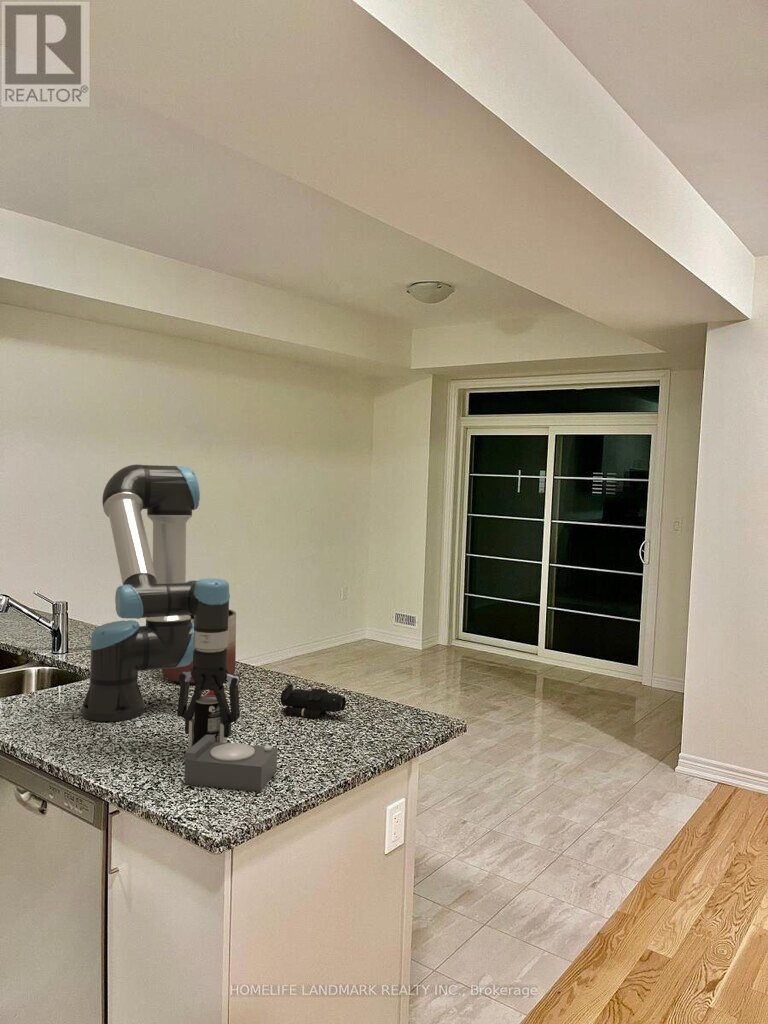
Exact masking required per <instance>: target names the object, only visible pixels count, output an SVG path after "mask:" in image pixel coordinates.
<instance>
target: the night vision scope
mask: <svg viewBox="0 0 768 1024" xmlns="http://www.w3.org/2000/svg"><path fill="white" fill-rule="evenodd" d="M280 703H281V705H282V706H284V707H285V710H284V711H285V712H284V713H285V715H286V716H290V715H291V716H297V717H304V718H305V717H306V718H314V719H317V718H319V719H321V717H320V716H321V715H322V714H326V713H331V712H332V713H336V712H340V711H344V710H346V709H345V708H346V703H347V701H346V697H345V696H343V695H341V694H338V693H335V692H328V690H327V689H323V688H318V689H317V688H315V687H314V688H312V689H311V690H306V689H299V688H298V689H297V688H295V689H294V685H293V684H292V683H290V684H288V686H287V687H285V688H284V689H282V691H281V694H280Z"/></svg>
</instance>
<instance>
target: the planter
mask: <svg viewBox="0 0 768 1024" xmlns="http://www.w3.org/2000/svg"><path fill="white" fill-rule="evenodd" d="M189 616H190V617H191V622H192V623H194V615H189ZM236 635H237V612H236V611H235V610H233V609H229V616H228V646H227V647H226V649H227V671H228V673H229V674H230V675H233V676H234V675H235V673H236V657H237V656H236V650H237V645H236V642H237V641H236V640H237V639H236V638H237V636H236ZM192 669H193V661H192V662H191V663H190V664H189V665H187V666H183V667H177V668H174V669H172V668H165V669H161V670H162V677H164V678H165V679H167V681H171V682H173V683H176V684H180V679H179V675H180V674H181V673H183V672H185V671H187V672H191V671H192ZM190 685H196V683H195V681H194V679H193V678H192V677H191V680H190Z"/></svg>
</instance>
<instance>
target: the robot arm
mask: <svg viewBox="0 0 768 1024" xmlns="http://www.w3.org/2000/svg"><path fill="white" fill-rule="evenodd" d="M199 485H200V484H199V480H198V477H197V475H196V474H195V472H194V470H192V469H191V468H190V467H188V466H177V465H158V464H157V465H154V464H153V465H150V464H131V465H127V466H124V467H122V468H121V469H119V470H117V471H116V472H115V473H114V474H113V475H112V476H111V477H110V478H109V480H108V481H107V482H106V485H105V487H104V490H103V492H102V496H101V497H102V498H101V501H102V508H103V512H104V514H105V515H106V517H108V518H109V522H110V528H111V533H112V537H113V543H114V547H115V552H116V557H117V563H118V567H119V573H120V577H121V583H122V584H121V585H119V586H118V587H117V588H116V590H115V597H114V598H115V599H114V603H115V612H116V614H117V616H118V617H119V618H121V619H129V620H116V621H112V622H108V623H104V624H101V625H99V626H96V627H95V628H94V629H93V631H92V633H91V638H90V645H89V649H90V665H89V666H90V667H89V668H90V669H89V670H90V671H89V672H90V673H89V686H88V690H87V692H86V694H85V698H84V701H83V703H82V706H81V716H82V718H84V719H86V718H87V719H86V720H88V719H90V720H89V721H92V720H96V721H95V722H102V721H110V722H120V721H119V720H121V721H126V720H131V719H134V718H136V717H140V716H141V715H142V714H144V711H145V702H144V698H143V696H142V693H141V688H140V687H139V682H138V680H139V679H138V678H139V677H138V675H139V672H141V671H152V670H154V671H155V670H162V669H165V668H172V669H174V668H177V667H183V666H187V665H189V664H190V663H191V662H192V661H193V669H192V671H191V672H187V671H185V672H183V673H181V674H180V675H179V679H180V683H179V685H180V686H179V694H178V701H177V702H178V703H177V710H176V711H177V712H176V716H177V717H178V718H183V719H184V723H185V725H184V733H185V735H188V745H187V746H188V747H187V751H188V750H189V749H190V748H191V747H192V746H193V716H194V705H195V703H196V700H198V699H200V697H201V696H202V695H203V692H204V691H207V690H208V691H209V692H210V691H213V692H214V695H215V696H216V699H217V702H218V706H219V708H220V712H221V716H222V719H223V722H222V723H221V724H220V741H219V743H228V740H227V739H229V737H231V734H232V723H235V722H237V720H239V719H240V717H241V711H240V695H239V684H240V681H241V676H240V675H237V674H236V675H234V674H233V675H230V674H229V673H228V671H227V649H226V647H227V646H228V616H229V610H230V598H231V595H230V584H229V582H228V581H227V579H221V578H201V579H199V580H194V579H193V580H192V579H191V580H188V581H187V580H186V574H187V573H186V561H187V522H188V521H189V520H191V518H192V517H193V511H196V510H197V509H199V506H200V501H201V495H200V493H201V492H200V486H199ZM143 510H146V512H147V513H146V514H147V515H146V516H147V517H148V519H150V521H151V522H152V555H151V550H150V547H149V541H148V538H147V534H146V532H147V531H146V529H145V525H144V520H143V516H142V512H143ZM189 615H194V623H192V622H191V617H190V616H189ZM143 618H145V625H140V624H139V623H140V622H139V621H137V620H138V619H139V620H140V619H143ZM130 619H137V620H130ZM191 677H192V678H193V679H194V681H195V683H196V684H195V687H194V689H193V693H192V697H191V699H190V702H189V704H188V701H189V700H188V699H189V693H190V687H191V686H190V685H191V684H190V680H191ZM226 681H227V684H228V686H229V689H228V691H229V702H228V699H227V696H226V693H225V691H226V690H225V686H224V683H225V682H226ZM229 705H230V706H229ZM117 720H118V721H117Z"/></svg>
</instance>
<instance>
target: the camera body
mask: <svg viewBox="0 0 768 1024" xmlns="http://www.w3.org/2000/svg"><path fill="white" fill-rule="evenodd" d="M184 755H185V756H184V757H185V758H184V759H185V760H184V785H189V786H198V787H199V786H202V787H210V788H221V789H232V790H241V791H251V792H262V791H263V790H264V788H265V787H266V786H267V784H269V782H270V780H272V778H273V776H274V775H275V774H276V772H277V771H278V747H273V746H272V745H265V746H261V745H250V744H245V743H238V742H237V743H236V742H232V743H231V742H230V743H228V742H227V743H218V742H215V735H205V736H204V737H203V738H201V739H200V740H199V741H198V742H197V743H196V744H195V745H193V746H192V747H191V748H190V749H189V750H188V749H187V750H186V751H185V753H184Z"/></svg>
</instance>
